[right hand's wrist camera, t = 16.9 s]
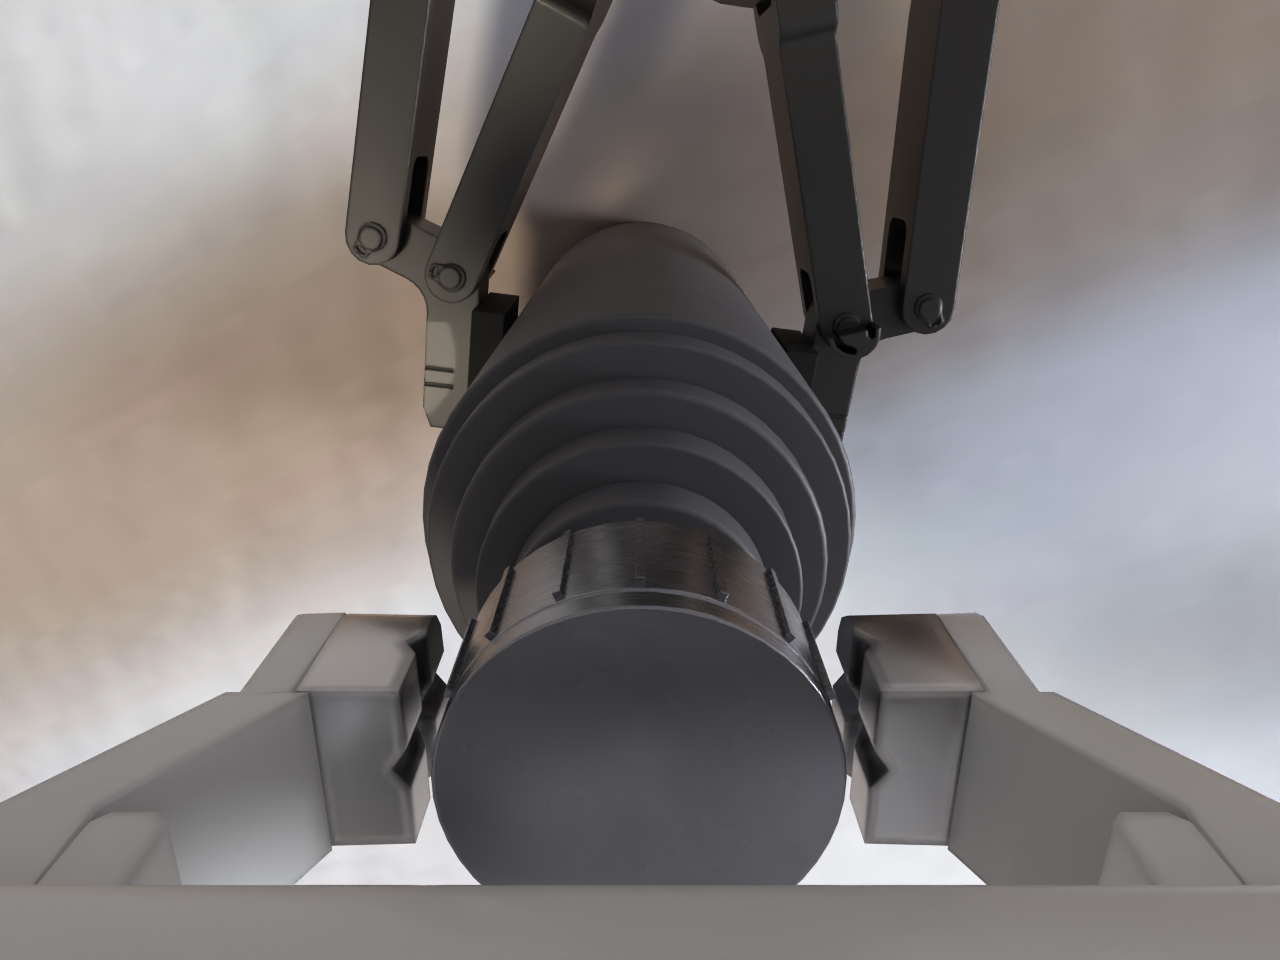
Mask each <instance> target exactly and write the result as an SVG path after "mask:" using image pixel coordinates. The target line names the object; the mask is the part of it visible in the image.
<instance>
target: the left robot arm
mask: <svg viewBox="0 0 1280 960" xmlns="http://www.w3.org/2000/svg"><path fill="white" fill-rule="evenodd" d="M612 1H613V0H534V2H533V5H532V7H531V10H530V12H529V14H528V17H527V19H526V22H525V24H524V27H523V29H522V32H521V34H520V36H519V39H518V41H517V44H516V46H515V49H514V51H513V54H512V56H511V59H510V61H509V63H508V66H507V68H506V71H505V73H504V76H503V78H502V81H501V83H500V85H499V88H498V90H497V93H496V95H495V98H494V100H493V103H492V105H491V107H490V110H489V112H488V115H487V117H486V120H485V122H484V125H483V127H482V129H481V132H480V134H479V137H478V139H477V142H476V144H475V147H474V149H473V152H472V154H471V156H470V159H469V161H468V164H467V166H466V169H465V171H464V174H463V176H462V178H461V181H460V183H459V186H458V188H457V191H456V193H455V196H454V198H453V200H452V203H451V205H450V208H449V210H448V213H447V215H446V218H445V220H444V223H443V225H442V227H440V226H438V225H436V224H434V223H432V222H430V221H428V220H426V219H425V214H426V207H427V200H428V192H429V185H430V178H431V171H432V163H433V156H434V149H435V142H436V135H437V127H438V120H439V113H440V106H441V99H442V91H443V84H444V77H445V70H446V63H447V55H448V48H449V41H450V34H451V26H452V19H453V12H454V5H455V0H370V8H369V17H368V26H367V36H366V45H365V54H364V63H363V72H362V82H361V91H360V100H359V109H358V118H357V128H356V137H355V146H354V155H353V164H352V174H351V183H350V192H349V201H348V210H347V220H346V229H345V236H346V243H347V246H348V248H349V250H350V252H351V253H352V254H353V255H354V256H355V257H356V258H357V259H358V260H359V261H362V262H364V263H366V264H369V265H380V266H383V267H385V268H387V269H389V270H391V271H393V272H395V273H397V274H399V275H401V276H403V277H405V278H406V279H408V280H410V281H411V282H413V283H414V284H415V285H416V286H417V287H418V288H419V290H420V291H421V293H422V295H423V296H424V299H425V302H426V307H427V325H426V349H425V374H424V382H425V384H424V399H423V407H424V410H425V413H426V415H427V418H428V421H429V424H430V427H439V428H443V427H444V425H445V423H446V421H447V419H448V417H449V415H450V414H451V412H452V411H453V409H454V408H455V406H456V405H457V404H458V402H459V401H460V399H461V398H462V396H463V395H464V394H465V392H466V391H467V389H468V388H469V386H470V385H471V384H472V382H473V381H474V379H475V378H476V376H477V375H478V374H479V372H480V371H481V369H482V368H483V366H484V365H485V364H486V362H487V361H488V359H489V358H490V356H491V355H492V354H493V352H494V351H495V349H496V348H497V346H498V345H499V343H500V342H501V341H502V339H503V338H504V336H505V335H506V333H507V332H508V331H509V329H510V328H511V326H512V325H513V323H514V322H515V321H516V319H517V318H518V306H519V296H516V295H508V294H500V293H492V292H490V293H489V294H488V286H489V279H490V278H491V276H492V275H493V274H494V272H495V270H493V269H494V267H495V264H496V262H497V260H498V258H499V255H500V253H501V251H502V248H503V246H504V244H505V242H506V239H507V237H508V235H509V232H510V230H511V228H512V225H513V223H514V221H515V219H516V216H517V214H518V212H519V209H520V207H521V205H522V202H523V200H524V198H525V196H526V193H527V191H528V189H529V186H530V184H531V182H532V180H533V177H534V175H535V173H536V170H537V168H538V166H539V163H540V161H541V159H542V157H543V154H544V152H545V150H546V147H547V145H548V143H549V141H550V138H551V136H552V134H553V131H554V129H555V127H556V124H557V122H558V120H559V118H560V115H561V113H562V111H563V108H564V106H565V104H566V101H567V99H568V97H569V95H570V92H571V90H572V88H573V85H574V83H575V81H576V79H577V76H578V74H579V72H580V69H581V67H582V65H583V62H584V60H585V58H586V56H587V53H588V51H589V49H590V46H591V44H592V42H593V40H594V37H595V35H596V33H597V32H598V30H599V28H600V27H601V25H602V23H603V21H604V19H605V16H606V14H607V12H608V10H609V7H610V5H611V3H612ZM714 1H716V2H718V3H720V4H726V5H733V6H741V7H748V8H753V9H754V15H755V22H756V28H757V34H758V40H759V45H760V49H761V51H762V54H763V57H764V61H765V67H766V73H767V80H768V86H769V92H770V99H771V105H772V112H773V118H774V125H775V131H776V138H777V144H778V150H779V157H780V163H781V170H782V176H783V183H784V189H785V196H786V202H787V209H788V215H789V221H790V228H791V234H792V241H793V247H794V254H795V260H796V267H797V273H798V280H799V286H800V292H801V299H802V305H803V312H804V316H805V318H806V319H805V324H804V329H803V334H802V333H801V332H800V331H796V330H788V329H780V328H771V333H772V334H773V335H774V337H775V338H776V340H777V341H778V343H779V344H780V346H781V347H782V348H783V350H784V351H785V353H786V354H787V356H788V357H789V358H790V360H791V361H792V363H793V364H794V366H795V367H796V368H797V370H798V371H799V373H800V374H801V376H802V377H803V379H804V380H805V381H806V383H807V384H808V386H809V387H810V389H811V390H812V391H813V393H814V394H815V396H816V397H817V399H818V400H819V401H820V403H821V404H822V406H823V407H824V409H825V410H826V412H827V413H828V415H829V417H830V419H831V421H832V423H833V425H834V426H835V428H836V430H837V432H838V434H839V436H840V438H841V441H842V439H843V432H844V430H845V426H846V421H847V416H848V412H849V407H850V402H851V398H852V393H853V389H854V384H855V379H856V375H857V370H858V366H859V363H860V360H861V357H864V356H866V355H868V354H869V353H870V352H871V351H872V350H873V349H874V348H875V347H876V345H877V343H878V341H879V340H882V339H885V338H889V337H893V336H898V335H902V334H907V333H911V332H917V333H921V334H930V333H935V332H937V331H939V330H940V329H942V328H944V327H945V326H946V324H947V323H948V322H949V321H950V320H951V317H952V315H953V312H954V308H955V302H956V295H957V288H958V281H959V274H960V268H961V261H962V254H963V247H964V241H965V234H966V227H967V220H968V214H969V207H970V200H971V193H972V187H973V180H974V173H975V166H976V160H977V153H978V146H979V139H980V132H981V126H982V119H983V112H984V105H985V99H986V92H987V85H988V78H989V72H990V65H991V58H992V51H993V45H994V38H995V31H996V24H997V18H998V11H999V4H1000V0H911V6H910V12H909V20H908V29H907V37H906V46H905V54H904V63H903V72H902V80H901V89H900V97H899V106H898V115H897V123H896V132H895V140H894V149H893V158H892V166H891V175H890V183H889V192H888V201H887V209H886V218H885V226H884V235H883V244H882V252H881V261H880V269H879V277H878V278H873V279H869V280H867V273H866V265H865V257H864V250H863V242H862V234H861V226H860V218H859V210H858V203H857V195H856V187H855V179H854V171H853V164H852V156H851V148H850V140H849V132H848V124H847V117H846V109H845V101H844V93H843V85H842V78H841V70H840V62H839V54H838V46H837V24H838V5H837V0H714Z"/></svg>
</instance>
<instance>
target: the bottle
mask: <svg viewBox="0 0 1280 960" xmlns="http://www.w3.org/2000/svg"><path fill="white" fill-rule="evenodd" d="M855 515H856V514H855V495H854V485H853V480H852V475H851V470H850V465H849V461H848V458H847V455H846V453H845V450H844V447H843V444H842V441H841V438H840V436H839V434H838V432H837V430H836V428H835V426H834V425H833V423H832V421H831V419H830V417H829V415H828V413H827V412H826V410H825V409H824V407H823V406H822V404H821V403H820V401H819V400H818V399H817V397H816V396H815V394H814V393H813V391H812V390H811V389H810V387H809V386H808V384H807V383H806V381H805V380H804V379H803V377H802V376H801V374H800V373H799V371H798V370H797V368H796V367H795V366H794V364H793V363H792V361H791V360H790V358H789V357H788V356H787V354H786V353H785V351H784V350H783V348H782V347H781V346H780V344H779V343H778V341H777V340H776V338H775V337H774V335H773V334H772V333H771V331H770V330H769V328H768V327H767V325H766V324H765V323H764V321H763V320H762V318H761V317H760V315H759V314H758V313H757V311H756V310H755V308H754V307H753V305H752V304H751V302H750V301H749V300H748V298H747V297H746V295H745V294H744V292H743V291H742V290H741V288H740V287H739V285H738V284H737V282H736V281H735V280H734V278H733V277H732V275H731V274H730V272H729V271H728V270H727V268H726V267H725V265H724V264H723V263H722V261H721V260H720V259H719V258H718V257H717V256H716V255H715V254H714V253H713V252H712V250H711V249H709V248H708V247H707V246H706V245H704V244H703V243H702V242H701V241H699V240H697V239H696V238H694V237H692V236H691V235H689V234H687V233H685V232H683V231H680V230H678V229H676V228H673V227H669V226H666V225H662V224H656V223H649V222H630V223H623V224H617V225H613V226H609V227H606V228H603V229H601V230H598V231H596V232H594V233H591V234H590V235H588V236H586V237H585V238H583V239H581V240H580V241H578V242H577V243H576V244H574V245H573V246H572V247H571V248H570V249H568V250H567V251H566V252H565V253H564V254H563V255H562V256H561V258H560V259H559V260H558V261H557V262H556V264H555V265H554V266H553V268H552V269H551V271H550V272H549V273H548V275H547V276H546V278H545V279H544V281H543V282H542V283H541V285H540V286H539V288H538V289H537V291H536V292H535V293H534V295H533V296H532V298H531V299H530V301H529V302H528V303H527V305H526V306H525V308H524V309H523V311H522V312H521V313H520V315H519V316H518V318H517V319H516V321H515V322H514V323H513V325H512V326H511V328H510V329H509V331H508V332H507V333H506V335H505V336H504V338H503V339H502V341H501V342H500V343H499V345H498V346H497V348H496V349H495V351H494V352H493V354H492V355H491V356H490V358H489V359H488V361H487V362H486V364H485V365H484V366H483V368H482V369H481V371H480V372H479V374H478V375H477V376H476V378H475V379H474V381H473V382H472V384H471V385H470V386H469V388H468V389H467V391H466V392H465V394H464V395H463V396H462V398H461V399H460V401H459V402H458V404H457V405H456V406H455V408H454V409H453V411H452V412H451V414H450V415H449V417H448V419H447V421H446V423H445V425H444V427H443V429H442V431H441V433H440V435H439V437H438V439H437V442H436V445H435V448H434V451H433V453H432V456H431V459H430V462H429V466H428V471H427V477H426V482H425V487H424V500H423V523H424V533H425V542H426V547H427V551H428V555H429V559H430V565H431V569H432V573H433V577H434V581H435V585H436V588H437V591H438V593H439V596H440V598H441V601H442V603H443V606H444V609H445V611H446V613H447V614H448V616H449V618H450V620H451V621H452V623H453V625H454V627H455V629H456V630H457V632H458V633H459V635H460V636H461V637H462V639H463V638H464V636H465V633H466V630H467V627H468V624H469V622H470V619H471V618H472V619H475V620H477V617H478V615H479V612H480V610H481V609H482V607H483V605H484V604H485V602H486V600H487V598H488V597H489V595H490V593H491V592H492V591H493V590H494V588H495V587H496V586H497V585H498V583H499V582H500V581H501V580H502V577H503V574H504V570H505V569H506V568H507V567H508V566H511V567H512V568H514V567H515V566H516V565H517V564H518V563H519V562H520V561H522V560H523V559H524V558H526V557H527V556H529V555H530V554H531V553H533V552H534V551H536V550H537V549H539V548H540V547H542V546H544V545H546V544H548V543H550V542H552V541H554V540H556V539H557V538H560V537H562V536H563V533H564V532H565V531H568V530H571V531H572V533H573V532H576V531H578V530H581V529H585V528H589V527H593V526H597V525H602V524H607V523H616V522H625V521H636V518H644V520H645V521H654V522H662V523H670V524H677V525H681V526H685V527H689V528H693V529H697V530H700V531H703V532H705V533H709V531H713V532H715V533H717V537H718V538H721V539H723V540H724V541H726V542H728V543H730V544H732V545H734V546H735V547H737V548H739V549H741V550H742V551H744V552H745V553H747V554H748V555H749V556H751V557H752V558H753V559H755V560H756V561H758V562H759V563H760V564H761V565H762V566H763V567H764V568H765V569H766V570H767V569H768V568H770V567H771V568H772V569H773V570H774V571H775V573H776V576H777V579H778V582H779V583H780V585H781V586H782V587H783V588H784V590H785V591H786V592H787V594H788V595H789V597H790V598H791V600H792V602H793V604H794V605H795V607H796V609H797V611H798V612H799V615H800V617H801V620H802V622H804V621H807V620H808V622H809V624H810V627H811V630H812V633H813V636H814V638H815V639H816V638H817V636H818V635H819V634H820V632H821V631H822V629H823V627H824V626H825V624H826V622H827V620H828V618H829V616H830V615H831V613H832V611H833V609H834V607H835V604H836V602H837V599H838V597H839V594H840V591H841V589H842V586H843V583H844V579H845V574H846V570H847V566H848V561H849V556H850V552H851V548H852V543H853V537H854V526H855Z"/></svg>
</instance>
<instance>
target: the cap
mask: <svg viewBox="0 0 1280 960" xmlns="http://www.w3.org/2000/svg"><path fill="white" fill-rule="evenodd" d="M443 696H444V697H447V698H449V700H448V702H447V705H446V708H445V712H444V714H443V717H442V720H441V723H440V726H439V729H438V732H437V736H436V741H435V745H434V749H433V754H432V769H431V780H432V791H433V799H434V803H435V807H436V811H437V815H438V818H439V821H440V824H441V826H442V829H443V831H444V833H445V836H446V838H447V840H448V842H449V844H450V845H451V847H452V849H453V850H454V852H455V854H456V855H457V857H458V859H459V860H460V861H461V863H462V864H463V865H464V866H465V868H466V869H467V870H468V871H469V872H470V874H471V875H472V876H473V877H474V878H475V879H476V880H477V881H478V882H479V883H480V884H481V885H797V884H798V883H799V882H800V881H801V880H802V879H803V878H804V877H805V876H806V874H807V873H808V872H809V871H810V870H811V869H812V867H813V866H814V865H815V864H816V863H817V861H818V860H819V858H820V856H821V855H822V853H823V852H824V850H825V848H826V847H827V845H828V844H829V842H830V839H831V837H832V835H833V833H834V830H835V828H836V826H837V824H838V821H839V817H840V813H841V810H842V806H843V802H844V797H845V788H846V779H847V775H846V755H845V751H844V746H843V741H842V737H841V733H840V730H839V727H838V724H837V721H836V718H835V715H834V712H833V709H832V706H831V703H830V700H833V699H835V695H834V692H833V689H832V687H831V684H830V681H829V678H828V675H827V672H826V670H825V667H824V664H823V661H822V658H821V655H820V653H819V650H818V647H817V644H816V641H815V638H814V636H813V633H812V630H811V627H810V624H809V622H808V620H807V621H804V622H802V620H801V617H800V615H799V612H798V611H797V609H796V607H795V605H794V604H793V602H792V600H791V598H790V597H789V595H788V594H787V592H786V591H785V590H784V588H783V587H782V586H781V585H780V583H779V582H778V579H777V576H776V573H775V571H774V570H773V569H772V568H771V567H770V568H768V569H767V570H766V569H765V568H764V567H763V566H762V565H761V564H760V563H759V562H758V561H756V560H755V559H753V558H752V557H751V556H749V555H748V554H747V553H745V552H744V551H742V550H741V549H739V548H737V547H735V546H734V545H732V544H730V543H728V542H726V541H724V540H723V539H721V538H718V537H717V533H715V532H713V531H709V533H705V532H703V531H700V530H697V529H693V528H689V527H685V526H681V525H677V524H670V523H662V522H654V521H645V520H644V518H636V521H625V522H616V523H607V524H602V525H597V526H593V527H589V528H585V529H581V530H578V531H576V532H573V533H572V531H571V530H568V531H565V532H564V533H563V536H562V537H560V538H557V539H556V540H554V541H552V542H550V543H548V544H546V545H544V546H542V547H540V548H539V549H537V550H536V551H534V552H533V553H531V554H530V555H529V556H527V557H526V558H524V559H523V560H522V561H520V562H519V563H518V564H517V565H516V566H515V567H514V568H512V567H511V566H508V567H507V568H506V569H505V570H504V574H503V577H502V580H501V581H500V582H499V583H498V585H497V586H496V587H495V588H494V590H493V591H492V592H491V593H490V595H489V597H488V598H487V600H486V602H485V604H484V605H483V607H482V609H481V610H480V612H479V615H478V617H477V620H475V619H472V618H471V619H470V622H469V624H468V627H467V630H466V633H465V636H464V638H463V641H462V644H461V647H460V650H459V652H458V655H457V658H456V661H455V664H454V666H453V669H452V672H451V675H450V678H449V680H448V683H447V686H446V689H445V692H444V695H443Z"/></svg>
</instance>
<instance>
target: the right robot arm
mask: <svg viewBox="0 0 1280 960" xmlns="http://www.w3.org/2000/svg"><path fill="white" fill-rule="evenodd" d="M443 652H444V647H443V639H442V631H441V624H440V622H439V620H438V618H437V616H436V615H391V614H348V615H347V614H345V613H316V614H301V615H297V616H296V617H295V618H294V620H293V621H292V622H291V624H290V625H289V626H288V628H287V629H286V631H285V632H284V633H283V635H282V636H281V637H280V639H279V640H278V641H277V643H276V644H275V645H274V647H273V648H272V650H271V651H270V652H269V654H268V655H267V656H266V658H265V659H264V660H263V662H262V663H261V664H260V666H259V667H258V669H257V670H256V671H255V673H254V674H253V675H252V677H251V678H250V679H249V681H248V682H247V684H246V685H245V686H244V688H243V689H242V690H241V692H225V693H223V694H221V695H219V696H217V697H215V698H213V699H211V700H209V701H207V702H205V703H203V704H201V705H199V706H197V707H195V708H193V709H191V710H189V711H187V712H185V713H183V714H181V715H179V716H176V717H174V718H172V719H170V720H168V721H166V722H164V723H162V724H160V725H158V726H156V727H154V728H152V729H150V730H148V731H146V732H144V733H142V734H140V735H138V736H136V737H134V738H132V739H130V740H128V741H125V742H123V743H121V744H119V745H117V746H115V747H113V748H111V749H109V750H107V751H105V752H103V753H101V754H99V755H97V756H95V757H93V758H91V759H89V760H87V761H85V762H83V763H81V764H79V765H77V766H75V767H72V768H70V769H68V770H66V771H64V772H62V773H60V774H58V775H56V776H54V777H52V778H50V779H48V780H46V781H44V782H42V783H40V784H38V785H36V786H34V787H32V788H30V789H28V790H26V791H24V792H22V793H19V794H17V795H15V796H13V797H11V798H9V799H7V800H5V801H3V802H1V803H0V960H1280V803H1278V802H1276V801H1274V800H1272V799H1270V798H1268V797H1266V796H1264V795H1262V794H1260V793H1258V792H1256V791H1254V790H1252V789H1250V788H1248V787H1246V786H1244V785H1242V784H1240V783H1238V782H1236V781H1234V780H1232V779H1229V778H1227V777H1225V776H1223V775H1221V774H1219V773H1217V772H1215V771H1213V770H1211V769H1209V768H1207V767H1205V766H1203V765H1201V764H1199V763H1197V762H1195V761H1193V760H1191V759H1189V758H1187V757H1185V756H1183V755H1181V754H1179V753H1177V752H1175V751H1173V750H1171V749H1169V748H1166V747H1164V746H1162V745H1160V744H1158V743H1156V742H1154V741H1152V740H1150V739H1148V738H1146V737H1144V736H1142V735H1140V734H1138V733H1136V732H1134V731H1132V730H1130V729H1128V728H1126V727H1124V726H1122V725H1120V724H1118V723H1116V722H1114V721H1112V720H1110V719H1108V718H1106V717H1103V716H1101V715H1099V714H1097V713H1095V712H1093V711H1091V710H1089V709H1087V708H1085V707H1083V706H1081V705H1079V704H1077V703H1075V702H1073V701H1071V700H1069V699H1067V698H1065V697H1063V696H1061V695H1059V694H1057V693H1055V692H1039V690H1038V689H1037V688H1036V686H1035V685H1034V683H1033V682H1032V681H1031V679H1030V678H1029V677H1028V675H1027V674H1026V673H1025V671H1024V670H1023V669H1022V667H1021V666H1020V665H1019V663H1018V662H1017V661H1016V659H1015V658H1014V657H1013V655H1012V654H1011V653H1010V651H1009V650H1008V648H1007V647H1006V646H1005V644H1004V643H1003V642H1002V640H1001V639H1000V638H999V636H998V635H997V634H996V632H995V631H994V630H993V628H992V627H991V626H990V624H989V623H988V622H987V620H986V619H985V617H984V616H982V615H980V614H978V613H954V614H899V615H858V616H845V617H842V618H841V622H840V626H839V630H838V638H837V648H836V652H837V654H838V657H839V660H840V662H841V665H842V668H843V671H844V674H843V675H842V676H841V677H840V678H839V679H838V680H837V681H836V683H835V684H834V685H833V692H834V695H835V699H833V700H832V709H833V712H834V715H835V718H836V721H837V724H838V727H839V730H840V733H841V737H842V741H843V746H844V751H845V755H846V774H847V775H849V776H850V777H851V789H850V800H851V803H852V806H853V809H854V813H855V816H856V819H857V822H858V825H859V828H860V831H861V834H862V837H863V840H864V843H869V844H906V845H943V846H948V850H949V851H950V852H951V853H952V854H954V855H955V856H956V857H957V858H958V859H959V860H960V861H961V862H962V863H963V864H965V865H966V866H967V867H968V868H969V869H970V870H971V871H972V872H973V873H974V874H976V875H977V876H978V877H979V878H980V879H981V880H982V881H983V882H984V883H986V884H987V885H294V884H295V883H296V882H297V881H298V880H299V879H301V878H302V877H303V876H304V875H305V874H306V873H307V872H308V871H309V870H310V869H312V868H313V867H314V866H315V865H316V864H317V863H318V862H319V861H320V860H322V859H323V858H324V857H325V856H326V855H327V854H328V853H329V852H330V851H332V846H337V845H372V844H408V843H416V840H417V837H418V834H419V831H420V828H421V825H422V822H423V819H424V816H425V813H426V810H427V807H428V804H429V801H430V788H429V777H430V776H431V769H432V754H433V749H434V745H435V741H436V736H437V732H438V729H439V726H440V723H441V720H442V717H443V714H444V712H445V708H446V705H447V702H448V698H447V697H444V696H443V695H444V692H445V689H446V686H447V685H446V684H445V682H444V681H443V680H442V679H441V678H440V677H439V676H438V675H437V674H436V671H437V668H438V665H439V663H440V660H441V657H442V655H443Z"/></svg>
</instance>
